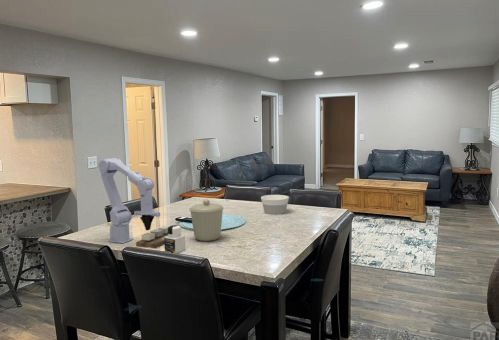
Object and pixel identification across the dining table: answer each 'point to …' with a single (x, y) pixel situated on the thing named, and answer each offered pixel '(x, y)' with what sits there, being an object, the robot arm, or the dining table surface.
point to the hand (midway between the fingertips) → (147, 229)
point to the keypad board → (153, 241)
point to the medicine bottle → (174, 240)
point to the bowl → (275, 204)
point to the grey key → (157, 232)
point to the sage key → (164, 229)
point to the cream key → (148, 236)
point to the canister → (206, 220)
